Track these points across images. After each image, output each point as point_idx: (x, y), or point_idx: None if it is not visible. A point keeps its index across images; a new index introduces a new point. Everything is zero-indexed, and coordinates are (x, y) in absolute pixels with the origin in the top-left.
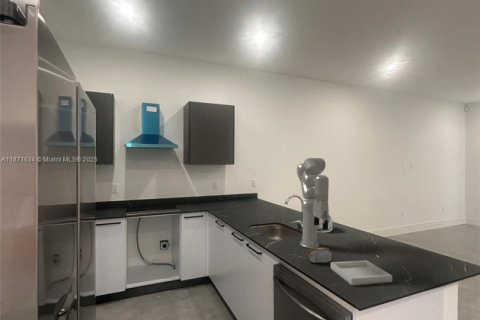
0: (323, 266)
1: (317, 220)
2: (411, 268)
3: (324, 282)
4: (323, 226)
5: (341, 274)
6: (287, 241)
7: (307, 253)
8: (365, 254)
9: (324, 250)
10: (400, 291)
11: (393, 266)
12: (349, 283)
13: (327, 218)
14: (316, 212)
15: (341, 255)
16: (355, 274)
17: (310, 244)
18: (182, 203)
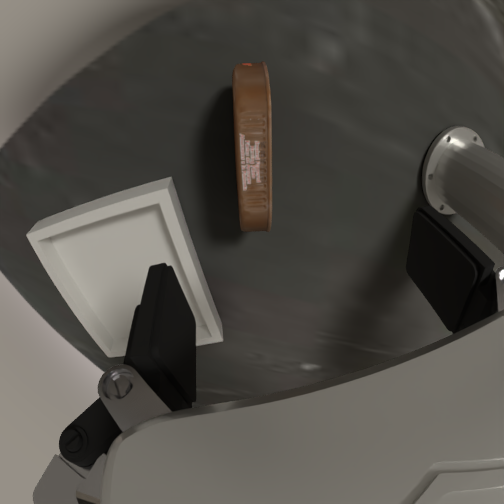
0: (192, 145)
1: (446, 292)
2: (220, 399)
3: (31, 121)
4: (147, 311)
5: (83, 207)
6: (496, 87)
7: (248, 64)
8: (325, 344)
9: (237, 186)
10: (65, 334)
11: (228, 378)
12: (45, 218)
13: (52, 475)
14: (459, 496)
15: (329, 271)
16: (114, 263)
17: (442, 167)
18: None
